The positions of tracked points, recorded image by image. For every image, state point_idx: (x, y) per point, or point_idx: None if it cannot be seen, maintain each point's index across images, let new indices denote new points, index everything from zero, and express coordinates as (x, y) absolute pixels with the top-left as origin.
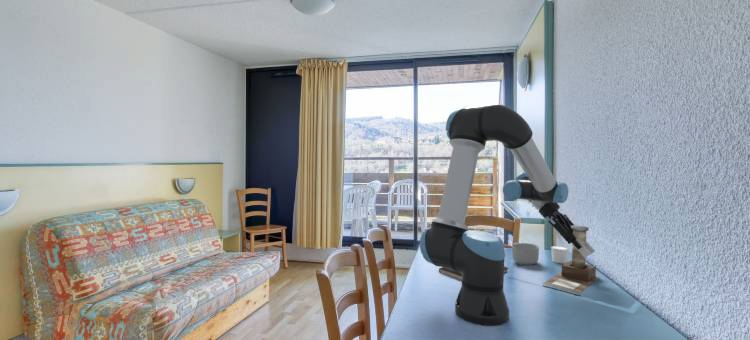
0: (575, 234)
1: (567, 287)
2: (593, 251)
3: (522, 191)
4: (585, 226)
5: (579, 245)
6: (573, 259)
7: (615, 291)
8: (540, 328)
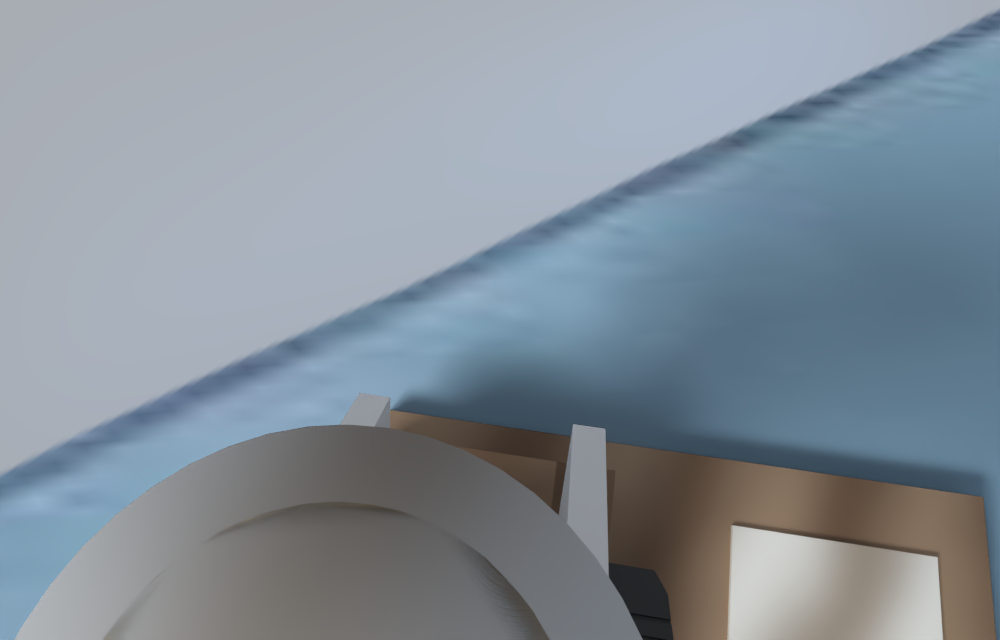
0: None
1: (936, 619)
2: (385, 418)
3: None
4: (62, 576)
5: (663, 610)
6: None
7: (610, 288)
8: None
